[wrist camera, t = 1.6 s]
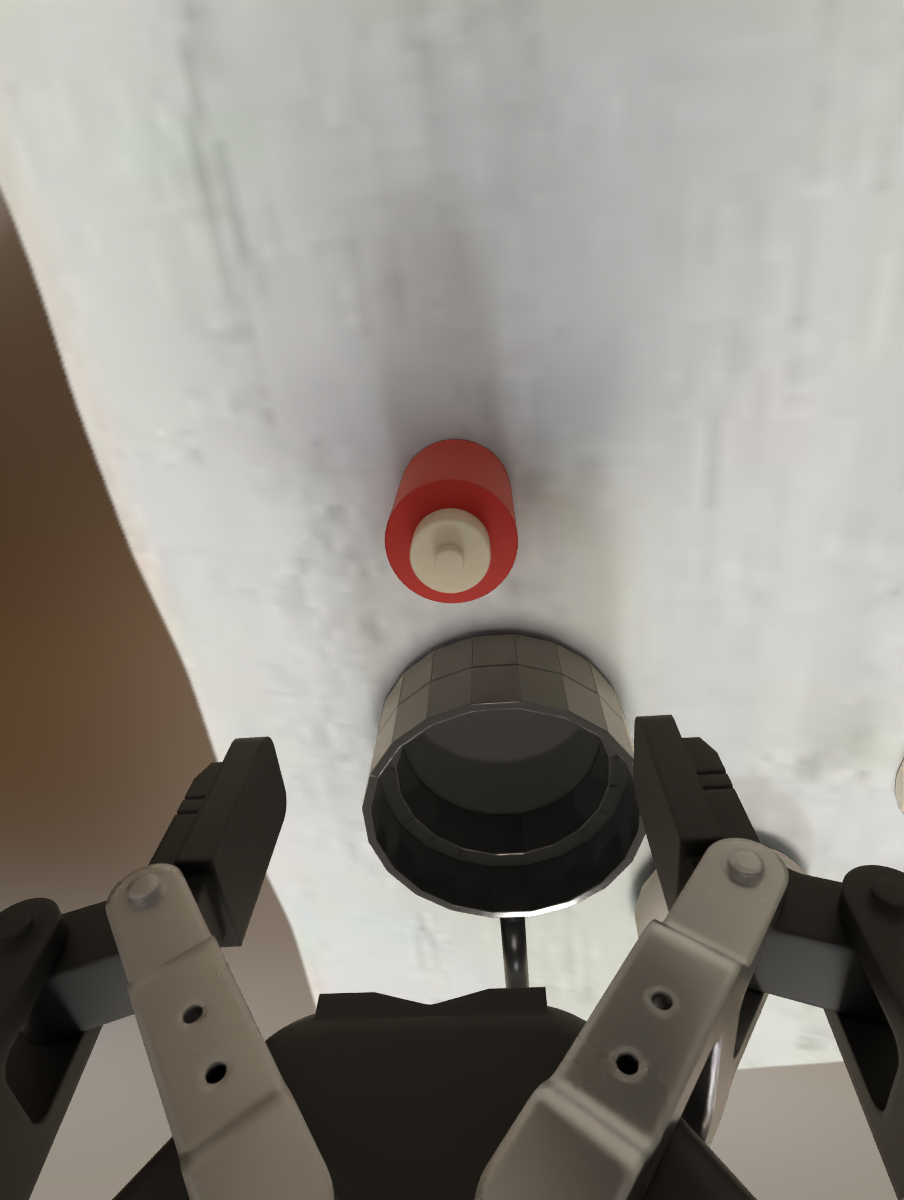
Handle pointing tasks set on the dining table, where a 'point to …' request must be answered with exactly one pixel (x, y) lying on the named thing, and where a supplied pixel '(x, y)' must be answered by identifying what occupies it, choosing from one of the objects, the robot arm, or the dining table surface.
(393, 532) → the ketchup bottle
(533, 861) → the grey round hollow bowl
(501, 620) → the dining table surface
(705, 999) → the robot arm
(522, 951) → the handle
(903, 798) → the beige cylinder
